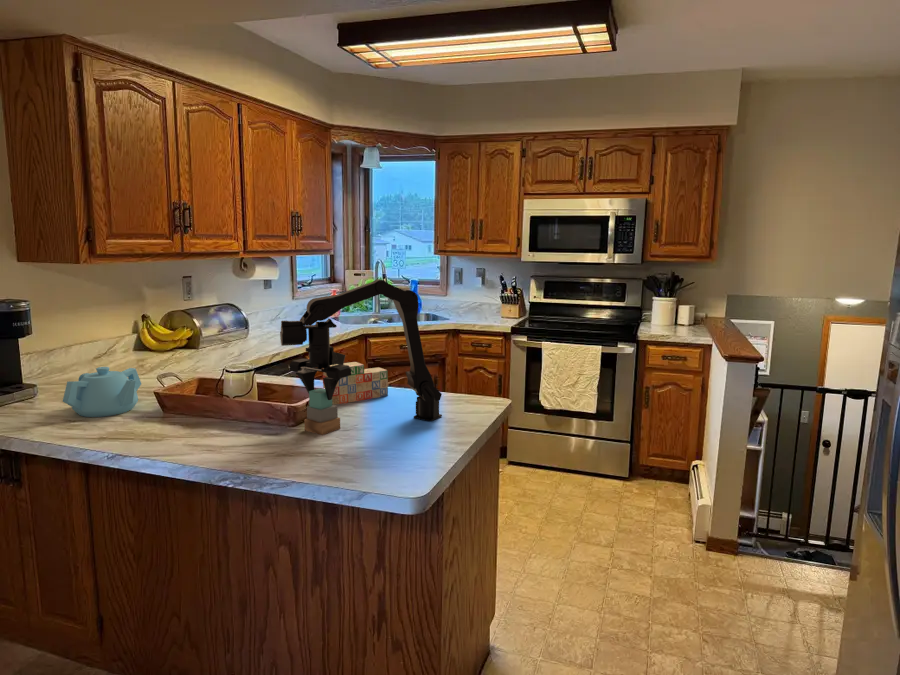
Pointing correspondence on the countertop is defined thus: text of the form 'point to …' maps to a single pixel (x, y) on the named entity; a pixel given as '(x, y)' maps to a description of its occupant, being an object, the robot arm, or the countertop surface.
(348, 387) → the stack of blocks
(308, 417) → the charcoal block
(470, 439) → the countertop surface
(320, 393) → the teal block
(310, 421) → the walnut base block
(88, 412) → the teapot
